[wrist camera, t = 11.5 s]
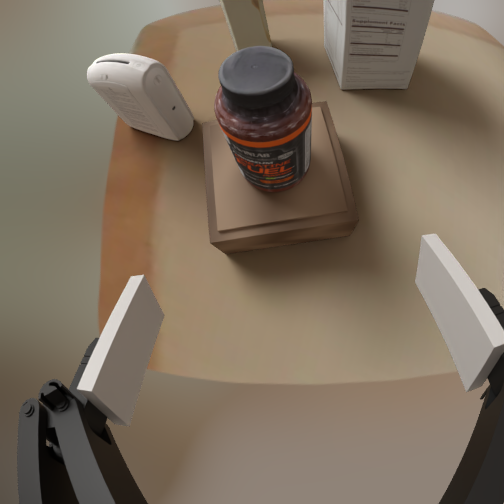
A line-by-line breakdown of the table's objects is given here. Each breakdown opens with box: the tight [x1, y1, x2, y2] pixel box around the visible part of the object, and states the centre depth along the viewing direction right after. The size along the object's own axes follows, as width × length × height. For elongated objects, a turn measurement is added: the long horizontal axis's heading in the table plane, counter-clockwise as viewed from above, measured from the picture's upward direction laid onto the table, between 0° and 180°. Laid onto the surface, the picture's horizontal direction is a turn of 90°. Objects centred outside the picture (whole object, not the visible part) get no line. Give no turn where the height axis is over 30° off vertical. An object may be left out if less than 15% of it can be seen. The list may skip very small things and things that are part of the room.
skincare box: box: [219, 0, 272, 52], centre depth 28 cm, size 6×4×12 cm
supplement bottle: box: [214, 46, 312, 192], centre depth 19 cm, size 6×6×11 cm
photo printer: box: [87, 53, 194, 141], centre depth 28 cm, size 10×4×12 cm, turn 63°
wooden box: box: [202, 101, 359, 254], centre depth 27 cm, size 12×12×5 cm
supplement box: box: [324, 0, 434, 90], centre depth 23 cm, size 10×9×17 cm
